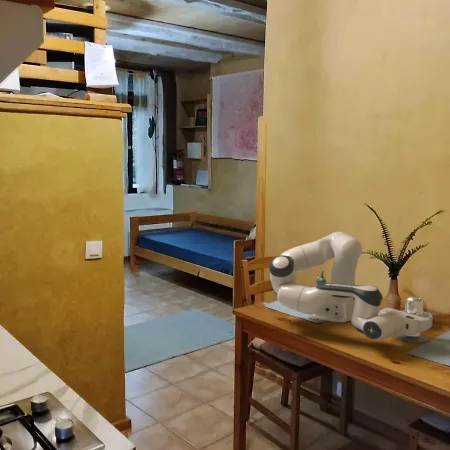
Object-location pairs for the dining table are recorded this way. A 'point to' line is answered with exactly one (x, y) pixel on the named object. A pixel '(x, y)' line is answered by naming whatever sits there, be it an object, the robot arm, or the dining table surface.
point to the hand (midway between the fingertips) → (414, 314)
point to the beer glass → (414, 309)
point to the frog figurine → (321, 278)
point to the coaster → (413, 338)
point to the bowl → (428, 317)
